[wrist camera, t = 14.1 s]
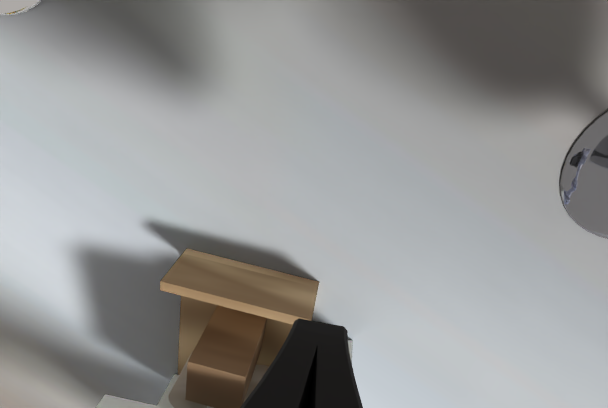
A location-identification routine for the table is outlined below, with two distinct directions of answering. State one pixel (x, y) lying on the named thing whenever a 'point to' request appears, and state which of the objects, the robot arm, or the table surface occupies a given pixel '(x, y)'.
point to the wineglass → (16, 6)
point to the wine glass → (588, 179)
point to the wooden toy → (230, 325)
